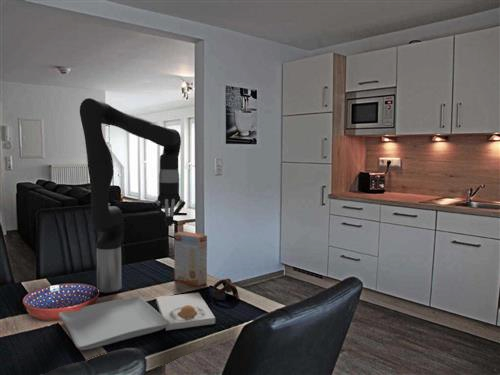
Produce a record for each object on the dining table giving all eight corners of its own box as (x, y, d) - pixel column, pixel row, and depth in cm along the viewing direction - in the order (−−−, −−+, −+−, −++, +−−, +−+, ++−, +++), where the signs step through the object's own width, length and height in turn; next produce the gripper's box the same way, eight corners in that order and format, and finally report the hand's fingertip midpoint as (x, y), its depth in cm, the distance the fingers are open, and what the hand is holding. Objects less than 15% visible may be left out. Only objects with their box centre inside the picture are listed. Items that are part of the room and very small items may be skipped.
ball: (181, 308, 129) (178, 304, 134) (181, 324, 129) (178, 318, 134) (196, 307, 131) (193, 302, 136) (196, 322, 131) (193, 316, 136)
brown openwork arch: (240, 304, 149) (230, 287, 146) (217, 313, 151) (207, 296, 148) (241, 285, 160) (232, 269, 158) (220, 294, 162) (211, 278, 159)
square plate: (57, 322, 130) (57, 311, 130) (139, 304, 146) (139, 294, 146) (77, 359, 108) (77, 345, 108) (171, 333, 124) (171, 321, 124)
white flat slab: (165, 330, 125) (165, 324, 125) (156, 302, 148) (156, 297, 147) (215, 323, 131) (215, 317, 130) (198, 297, 153) (198, 292, 153)
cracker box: (207, 283, 169) (207, 234, 167) (197, 287, 165) (197, 237, 163) (183, 276, 178) (183, 230, 176) (173, 280, 173) (173, 232, 171)
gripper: (184, 180, 159) (184, 223, 160) (150, 180, 154) (150, 224, 156) (188, 181, 152) (188, 226, 153) (152, 182, 147) (152, 228, 149)
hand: (169, 225), depth 154 cm, fingers closed
